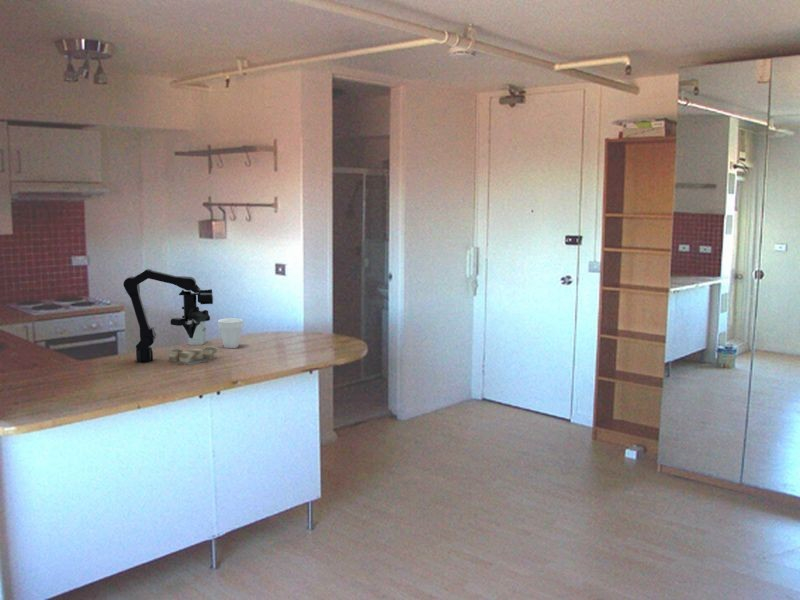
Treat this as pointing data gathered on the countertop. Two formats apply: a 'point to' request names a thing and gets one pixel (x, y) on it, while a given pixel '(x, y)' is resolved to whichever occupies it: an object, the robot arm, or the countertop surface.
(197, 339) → the supplement box
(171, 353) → the number block
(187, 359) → the plain bar
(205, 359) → the mat
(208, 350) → the number block
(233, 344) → the cup
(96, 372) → the countertop surface
